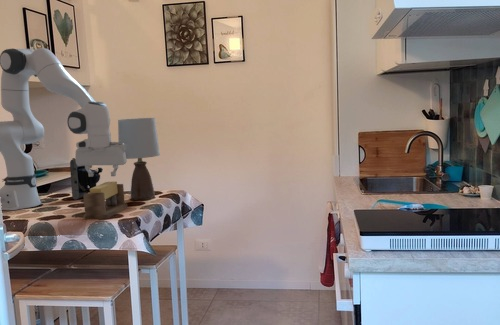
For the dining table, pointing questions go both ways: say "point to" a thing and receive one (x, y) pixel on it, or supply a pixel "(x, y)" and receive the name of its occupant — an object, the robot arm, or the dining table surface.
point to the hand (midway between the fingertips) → (102, 176)
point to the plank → (106, 189)
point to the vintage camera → (82, 179)
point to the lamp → (139, 152)
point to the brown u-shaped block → (103, 204)
